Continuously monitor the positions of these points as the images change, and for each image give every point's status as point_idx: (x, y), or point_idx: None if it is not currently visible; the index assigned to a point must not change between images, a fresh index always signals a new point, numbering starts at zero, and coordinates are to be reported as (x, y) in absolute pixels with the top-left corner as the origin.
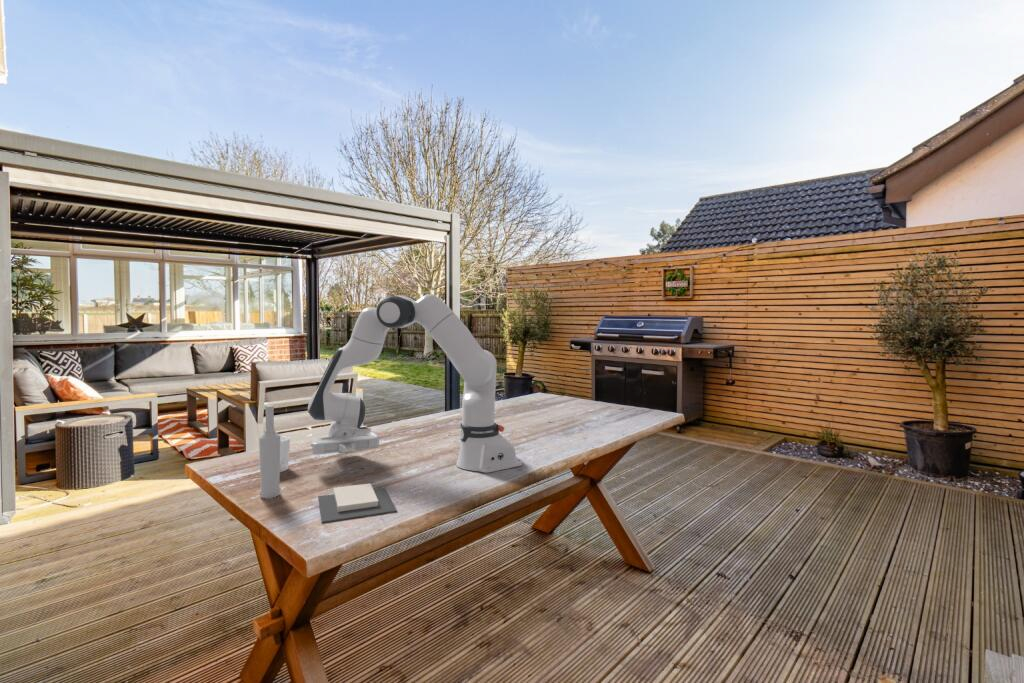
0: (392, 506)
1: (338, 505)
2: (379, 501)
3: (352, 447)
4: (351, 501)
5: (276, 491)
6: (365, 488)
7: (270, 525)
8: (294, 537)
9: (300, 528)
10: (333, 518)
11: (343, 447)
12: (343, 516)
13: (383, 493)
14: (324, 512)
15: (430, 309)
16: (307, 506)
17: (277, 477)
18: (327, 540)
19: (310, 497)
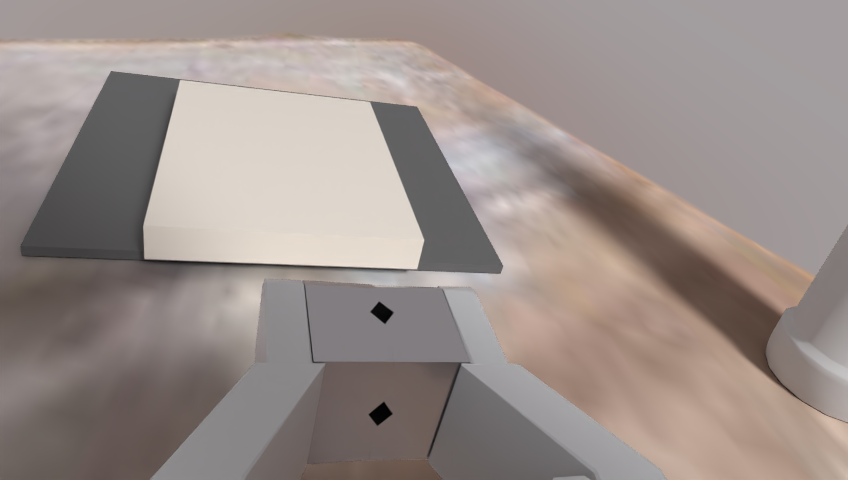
0: (113, 91)
1: (368, 105)
2: (155, 133)
3: (284, 286)
4: (309, 110)
5: (781, 319)
6: (207, 177)
7: (588, 151)
8: (478, 93)
9: (478, 114)
10: (378, 107)
11: (476, 297)
12: None
13: (86, 184)
14: (421, 141)
15: None
16: (518, 213)
17: (835, 252)
18: (381, 62)
19: (548, 289)
